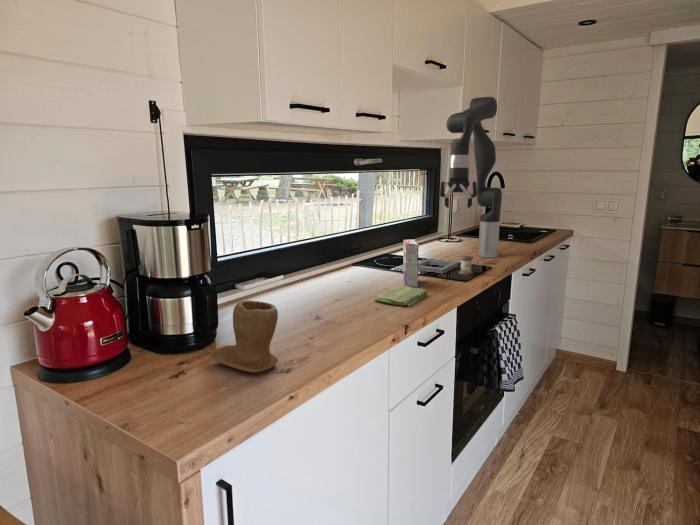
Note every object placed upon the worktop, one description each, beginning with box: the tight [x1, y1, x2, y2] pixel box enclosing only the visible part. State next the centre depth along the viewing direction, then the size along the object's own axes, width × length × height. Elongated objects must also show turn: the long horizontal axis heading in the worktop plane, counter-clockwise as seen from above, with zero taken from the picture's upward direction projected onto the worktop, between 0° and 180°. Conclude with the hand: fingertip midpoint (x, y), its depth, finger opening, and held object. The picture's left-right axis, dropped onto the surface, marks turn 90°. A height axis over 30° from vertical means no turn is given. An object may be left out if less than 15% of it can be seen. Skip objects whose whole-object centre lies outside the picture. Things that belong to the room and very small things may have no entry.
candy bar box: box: [402, 238, 419, 288], centre depth 183 cm, size 11×5×16 cm, turn 179°
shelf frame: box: [418, 258, 459, 275], centre depth 209 cm, size 17×15×2 cm
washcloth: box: [374, 284, 428, 308], centre depth 164 cm, size 13×18×3 cm
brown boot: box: [208, 300, 279, 373], centre depth 111 cm, size 15×12×15 cm
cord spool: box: [458, 255, 474, 276], centre depth 199 cm, size 6×6×7 cm
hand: (458, 207), depth 193 cm, fingers open, 8 cm apart
